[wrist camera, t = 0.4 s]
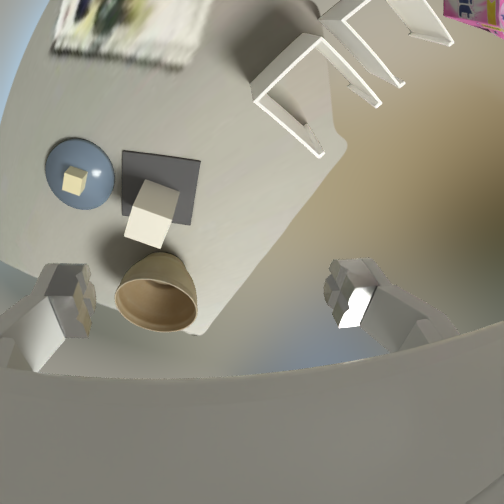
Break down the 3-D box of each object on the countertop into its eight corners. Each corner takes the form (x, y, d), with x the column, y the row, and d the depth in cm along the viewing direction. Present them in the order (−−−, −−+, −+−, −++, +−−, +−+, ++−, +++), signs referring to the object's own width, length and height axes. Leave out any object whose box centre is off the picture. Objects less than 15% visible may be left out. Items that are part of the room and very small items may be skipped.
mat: (123, 150, 46) (122, 151, 46) (200, 161, 48) (200, 162, 48) (122, 214, 54) (122, 215, 54) (190, 224, 57) (190, 225, 56)
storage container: (368, -21, 28) (403, -28, 20) (413, 32, 33) (454, 42, 25) (249, 83, 40) (253, 101, 32) (303, 129, 45) (319, 159, 37)
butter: (70, 165, 45) (64, 172, 44) (87, 171, 47) (82, 179, 45) (67, 182, 48) (62, 189, 46) (84, 188, 49) (79, 196, 47)
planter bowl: (199, 238, 59) (193, 281, 51) (203, 293, 70) (200, 334, 62) (119, 237, 58) (104, 277, 50) (135, 291, 69) (125, 329, 61)
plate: (45, 136, 42) (42, 139, 41) (115, 141, 45) (113, 144, 44) (52, 202, 51) (50, 205, 50) (115, 210, 54) (113, 214, 53)
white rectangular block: (145, 179, 49) (132, 205, 43) (179, 191, 51) (172, 220, 46) (135, 207, 53) (123, 236, 47) (168, 219, 55) (160, 248, 49)
